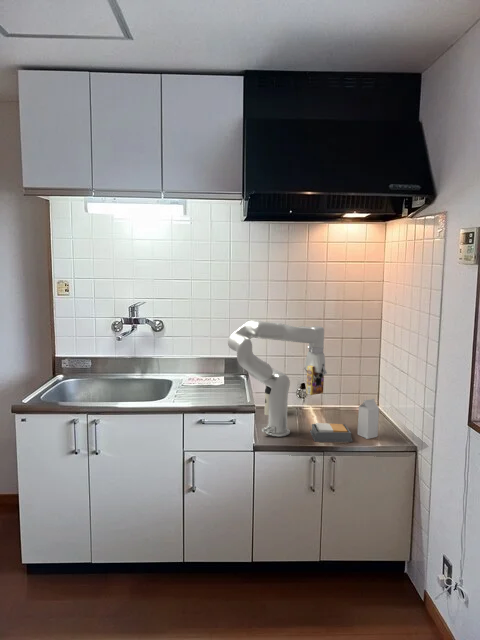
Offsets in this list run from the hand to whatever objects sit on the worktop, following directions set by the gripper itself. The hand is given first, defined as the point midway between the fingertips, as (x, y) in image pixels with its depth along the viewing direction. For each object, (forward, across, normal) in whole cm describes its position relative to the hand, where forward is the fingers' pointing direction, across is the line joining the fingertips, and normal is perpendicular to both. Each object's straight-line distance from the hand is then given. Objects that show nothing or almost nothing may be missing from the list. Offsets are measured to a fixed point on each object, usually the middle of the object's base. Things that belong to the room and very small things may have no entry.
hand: (314, 383), depth 254 cm
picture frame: (+19, +15, -4) cm, 25 cm away
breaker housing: (+24, +15, -4) cm, 28 cm away
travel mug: (+24, -29, -2) cm, 38 cm away
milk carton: (+24, +26, +12) cm, 37 cm away
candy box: (+6, 0, 0) cm, 6 cm away
